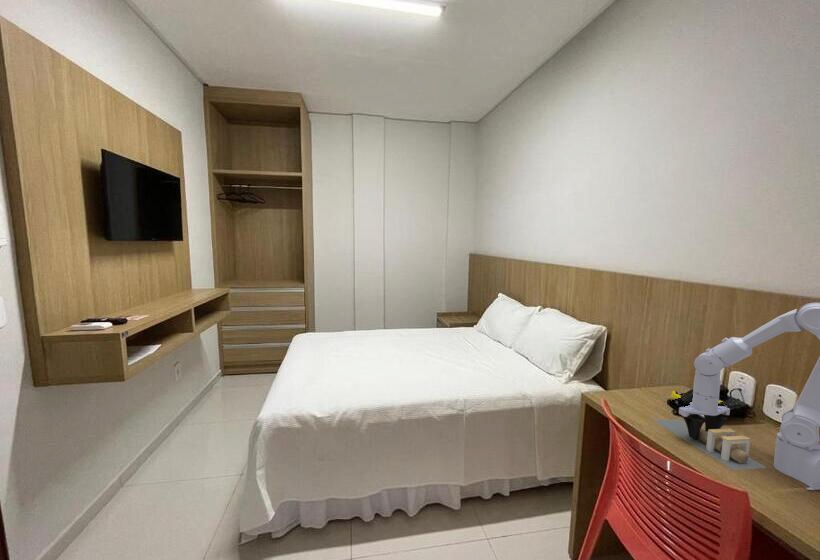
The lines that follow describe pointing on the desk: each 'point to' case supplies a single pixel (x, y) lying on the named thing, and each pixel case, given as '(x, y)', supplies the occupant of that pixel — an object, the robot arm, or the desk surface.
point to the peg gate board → (682, 431)
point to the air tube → (734, 451)
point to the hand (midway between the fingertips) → (701, 437)
